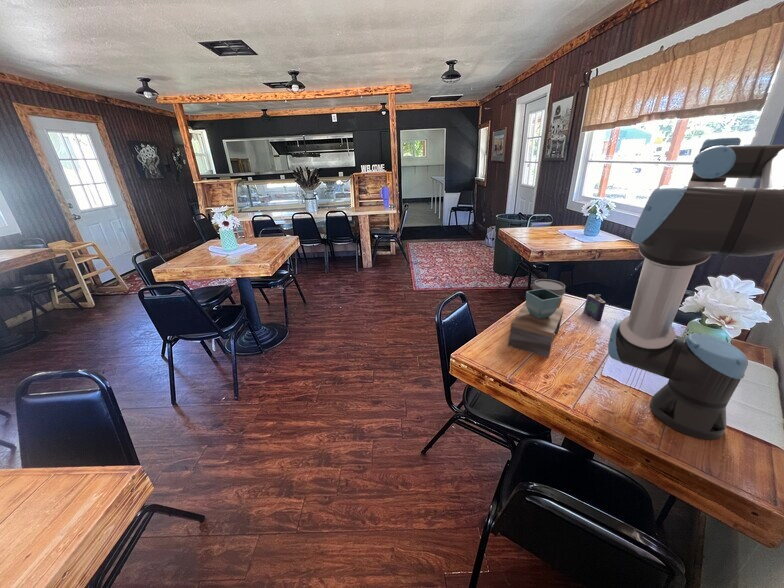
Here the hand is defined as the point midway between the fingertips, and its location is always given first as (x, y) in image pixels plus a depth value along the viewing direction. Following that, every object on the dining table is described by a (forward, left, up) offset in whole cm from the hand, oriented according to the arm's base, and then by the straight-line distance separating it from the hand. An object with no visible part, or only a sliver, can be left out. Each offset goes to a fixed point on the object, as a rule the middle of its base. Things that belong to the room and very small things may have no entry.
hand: (675, 265), depth 100 cm
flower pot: (-12, +35, -23) cm, 43 cm away
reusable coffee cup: (+10, +36, -33) cm, 50 cm away
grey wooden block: (-12, +35, -33) cm, 49 cm away
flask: (+20, +18, -33) cm, 43 cm away
